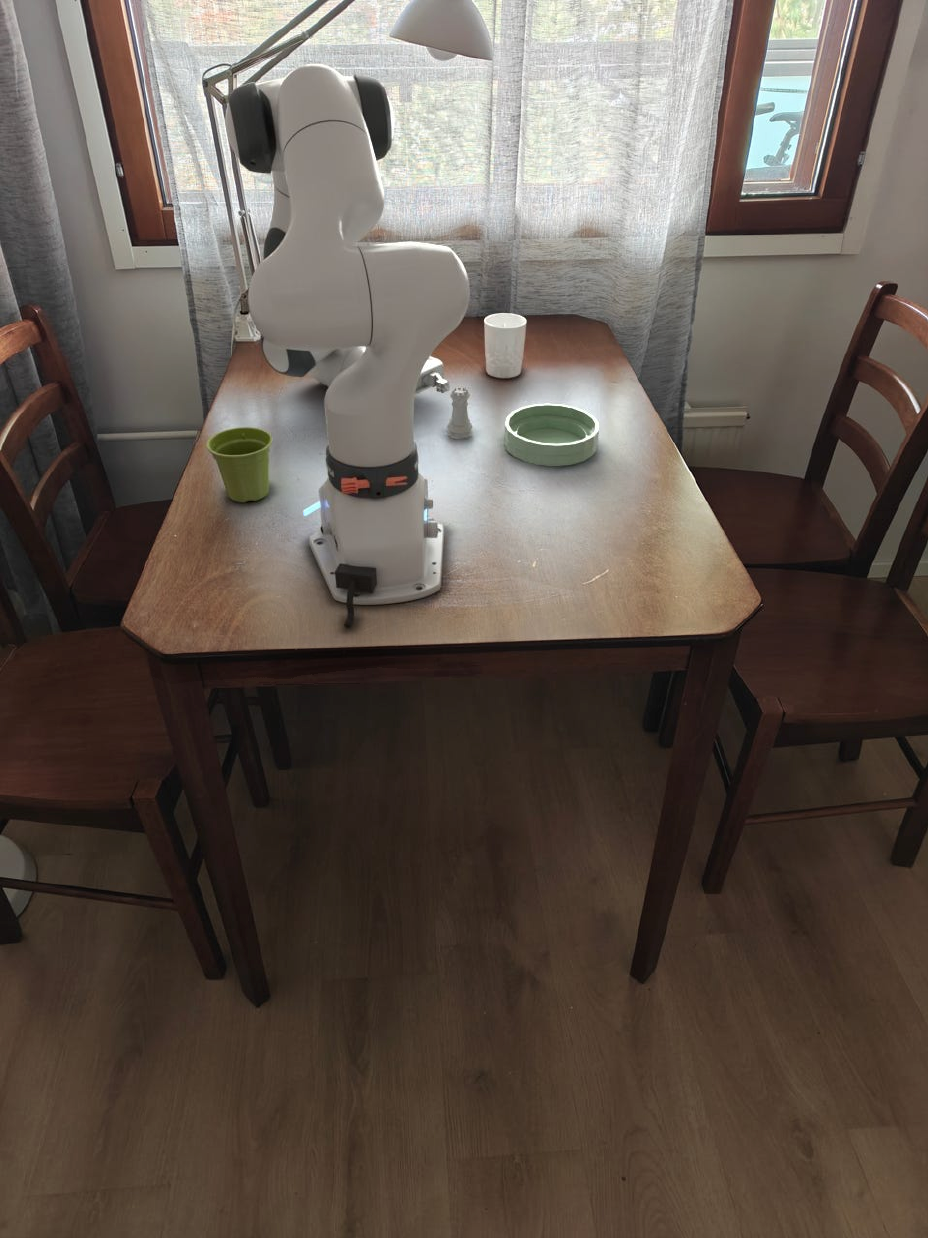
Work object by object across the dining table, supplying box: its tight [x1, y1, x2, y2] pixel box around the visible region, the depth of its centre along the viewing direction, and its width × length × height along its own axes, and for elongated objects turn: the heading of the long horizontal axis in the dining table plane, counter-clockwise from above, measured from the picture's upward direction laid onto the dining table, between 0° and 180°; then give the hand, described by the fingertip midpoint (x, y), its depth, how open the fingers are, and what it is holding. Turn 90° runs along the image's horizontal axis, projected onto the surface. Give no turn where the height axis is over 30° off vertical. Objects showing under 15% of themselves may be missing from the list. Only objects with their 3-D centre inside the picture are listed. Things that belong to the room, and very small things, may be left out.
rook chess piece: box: [446, 386, 474, 441], centre depth 146 cm, size 4×4×8 cm
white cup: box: [483, 312, 527, 379], centre depth 166 cm, size 8×8×10 cm
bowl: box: [503, 403, 600, 467], centre depth 143 cm, size 15×15×4 cm
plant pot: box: [206, 426, 273, 503], centre depth 130 cm, size 9×9×9 cm
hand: (428, 396), depth 148 cm, fingers open, 8 cm apart
